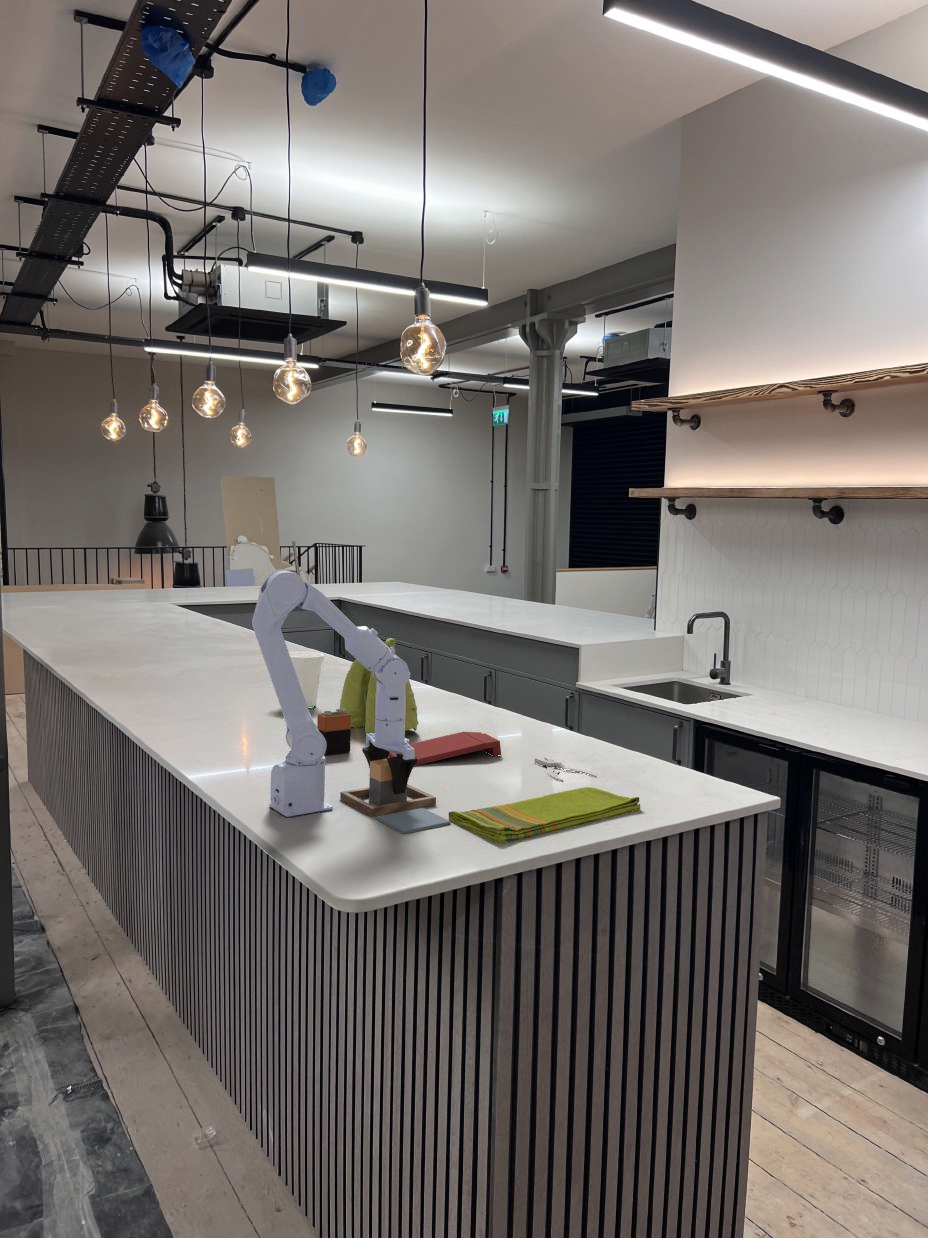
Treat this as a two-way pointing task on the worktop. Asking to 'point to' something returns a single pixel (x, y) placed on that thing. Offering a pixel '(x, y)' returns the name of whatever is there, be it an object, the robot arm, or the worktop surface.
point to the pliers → (552, 763)
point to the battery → (335, 731)
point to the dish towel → (544, 814)
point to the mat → (413, 820)
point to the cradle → (419, 802)
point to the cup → (308, 673)
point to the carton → (453, 746)
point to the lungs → (370, 697)
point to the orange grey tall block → (382, 784)
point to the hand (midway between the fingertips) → (388, 788)
